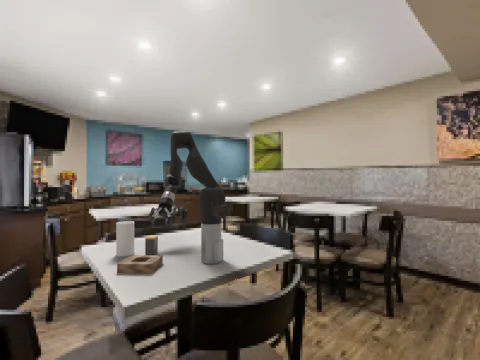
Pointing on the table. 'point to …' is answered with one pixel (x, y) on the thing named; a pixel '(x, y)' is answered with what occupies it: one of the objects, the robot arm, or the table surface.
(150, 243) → the block
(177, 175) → the robot arm
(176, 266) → the table surface
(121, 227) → the cup
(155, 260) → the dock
